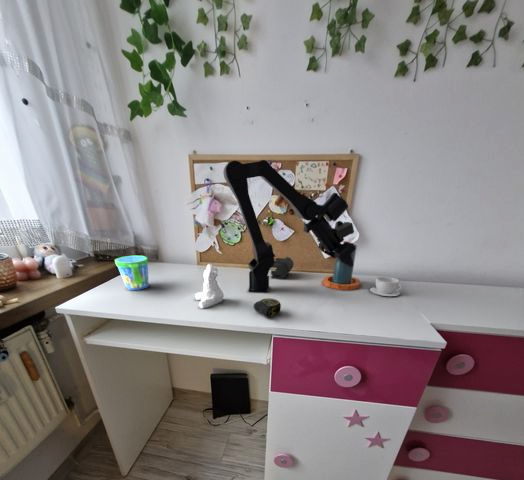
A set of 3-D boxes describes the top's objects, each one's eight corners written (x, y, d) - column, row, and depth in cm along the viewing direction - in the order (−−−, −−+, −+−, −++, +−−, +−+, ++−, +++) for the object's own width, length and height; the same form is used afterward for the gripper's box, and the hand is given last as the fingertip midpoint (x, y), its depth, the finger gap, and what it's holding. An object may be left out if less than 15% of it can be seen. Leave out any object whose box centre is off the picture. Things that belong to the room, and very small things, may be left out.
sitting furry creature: (194, 298, 90) (189, 261, 84) (219, 295, 93) (217, 259, 87) (200, 309, 83) (196, 269, 76) (228, 305, 86) (225, 266, 79)
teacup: (365, 292, 97) (367, 279, 94) (376, 286, 103) (379, 273, 101) (393, 299, 91) (397, 286, 88) (403, 292, 97) (407, 279, 95)
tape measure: (252, 312, 81) (252, 300, 79) (271, 307, 84) (271, 296, 82) (265, 320, 76) (266, 308, 74) (285, 315, 79) (285, 303, 77)
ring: (325, 289, 100) (325, 284, 99) (321, 278, 111) (322, 274, 110) (363, 290, 99) (363, 286, 98) (355, 279, 110) (356, 275, 109)
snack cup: (155, 292, 95) (148, 262, 90) (122, 296, 92) (113, 265, 86) (151, 279, 107) (146, 253, 102) (122, 282, 104) (115, 255, 98)
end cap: (287, 280, 108) (288, 262, 105) (270, 278, 110) (271, 261, 107) (293, 273, 116) (294, 257, 113) (277, 272, 118) (277, 256, 115)
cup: (342, 286, 99) (348, 245, 94) (328, 283, 104) (333, 244, 99) (354, 284, 103) (360, 245, 97) (340, 281, 108) (345, 243, 102)
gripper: (355, 216, 84) (379, 252, 91) (330, 211, 99) (352, 242, 107) (328, 244, 86) (353, 276, 94) (307, 234, 102) (330, 263, 110)
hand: (347, 263), depth 101 cm, fingers closed on cup, 7 cm apart
